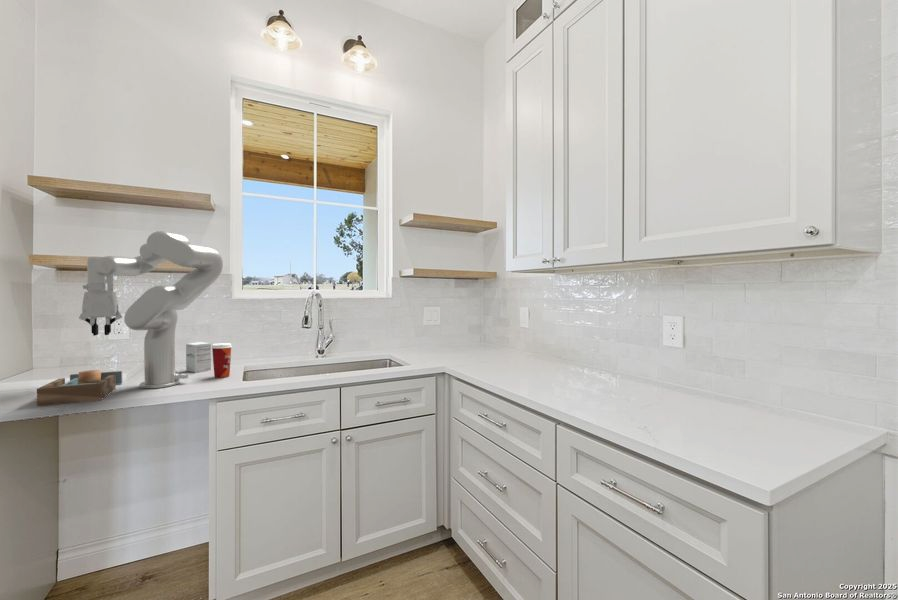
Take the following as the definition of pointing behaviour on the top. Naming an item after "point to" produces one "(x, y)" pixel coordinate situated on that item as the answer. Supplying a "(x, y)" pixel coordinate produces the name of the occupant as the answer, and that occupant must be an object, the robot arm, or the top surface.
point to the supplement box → (198, 356)
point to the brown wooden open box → (74, 392)
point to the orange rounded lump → (89, 376)
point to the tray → (75, 381)
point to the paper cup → (221, 359)
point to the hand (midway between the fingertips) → (101, 334)
